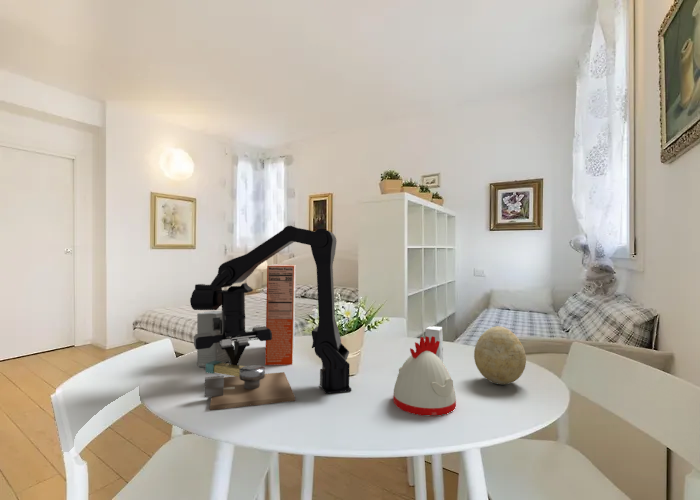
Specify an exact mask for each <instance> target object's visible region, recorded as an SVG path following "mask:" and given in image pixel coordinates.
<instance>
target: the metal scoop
mask: <svg viewBox="0 0 700 500" xmlns="http://www.w3.org/2000/svg"><path fill="white" fill-rule="evenodd" d="M265 367H266V366H263V365H257V364H253V365H252V364H251V365H239V364H238V365H233V364H231V363H228V362H226V363H222V362H220V361H212V362H209V363H206V367H205V374H206V373H207V374H219V375H220V374H221V375H224V376H225V375H226V376H230V377H233V376H238V377H239V379H240V380H242V381H257V380H261V379H263V378H264V377H265V374H266V368H265Z"/></svg>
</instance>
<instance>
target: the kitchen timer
mask: <svg viewBox="0 0 700 500" xmlns="http://www.w3.org/2000/svg"><path fill="white" fill-rule="evenodd" d="M439 343H440V342H439V341H436V343H435V337H433V336H432V337H431V341H429V337H427V336H426V335H425V337H422V336H420V338H419V343H418V342H417V341H416V342H414V347H415V350H414V349H413V348H411V347H410V348H409V351H410V355H409V357H408V358H407V359H406V360H405V361H404V363H402V365H401V367H399V368H398V374H397V376H396V381H395V382H394V388H393V395H392V396H393V399H392V400H393V404H394V405H395V406H396V407H397V408H398V409H399V410H402V411H403V412H406V413H409V414H412V413H413V415H417V414H418V415H417V416H423V415H441V416H443V415H442V414H446V415H448V414H447V413H449V412H451V411H453V410H454V409H455V410H456V408H455V407H456V405H457V404H456V403H457V396H456V395H457V394H456V391H455V387H454V380H453V379H452V377H451V374H450V372H449V370H448V368H447V367H446V365H445V364H444V361H443V362H442V361H441V360H440V358H439V357H438V356H436V353H437V350H438V347H439ZM455 410H454V411H455ZM454 411H453V412H454ZM451 413H452V412H451ZM449 414H450V413H449Z"/></svg>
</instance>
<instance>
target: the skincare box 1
mask: <svg viewBox="0 0 700 500" xmlns="http://www.w3.org/2000/svg"><path fill="white" fill-rule="evenodd" d="M196 316H197V318H196V319H197V322H196V323H197V325H196V326H197V328H196V329H197V333H196V334H200V333H209V332H210V333H211V334H212V335H213V336H214V335H222V334H220V330H214V331H213V328H212V319H213V318H218V317H220V320H221V319H222V310H209V311H203V312H200V313H199V312H198V313H197V315H196ZM228 338H231V337H228ZM196 351H197V355H196V356H197V358H196V361H197V362H196V364H197V367H204V368H206V363H209V362H212V361H220V362H222V363H228V362H230V360H229V357H228V354H227V352H226V350H225V349H224V350H222V349H221V348H220V347H219V344H218V343H213V345H212V346H211V347H210V348H206V349H196Z"/></svg>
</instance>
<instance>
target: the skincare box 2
mask: <svg viewBox="0 0 700 500" xmlns="http://www.w3.org/2000/svg"><path fill="white" fill-rule="evenodd" d="M426 336H427V337H429V341H431V337H432V336H433V337H435V343H436V341H439V342H440V343H439V347H438V350H437V353H436V356H438V357H439V358H440V360H441V361H442V362H443V363H444V347H443V346H444V345H443V344H444V343H443V342H444V340H443V338H444V337H443V326H434V325H433V326H432V325H430V326H428V327H426V328H425V337H426Z"/></svg>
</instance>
